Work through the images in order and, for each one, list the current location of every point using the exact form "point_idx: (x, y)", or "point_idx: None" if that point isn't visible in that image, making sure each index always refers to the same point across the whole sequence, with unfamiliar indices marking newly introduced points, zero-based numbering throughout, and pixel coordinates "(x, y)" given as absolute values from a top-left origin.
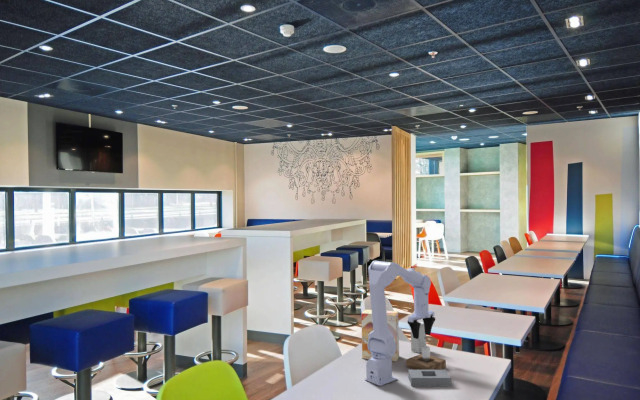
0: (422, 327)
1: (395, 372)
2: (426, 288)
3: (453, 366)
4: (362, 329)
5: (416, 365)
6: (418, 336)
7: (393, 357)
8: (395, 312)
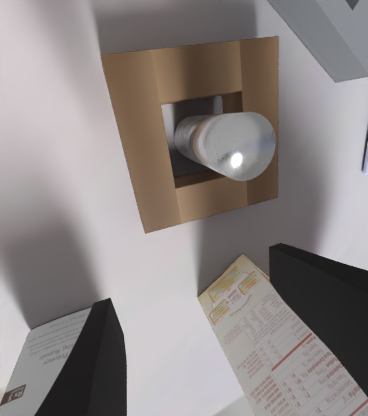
0: None
1: (324, 160)
2: None
3: (42, 49)
4: None
5: None
6: (288, 251)
7: (258, 268)
8: None
